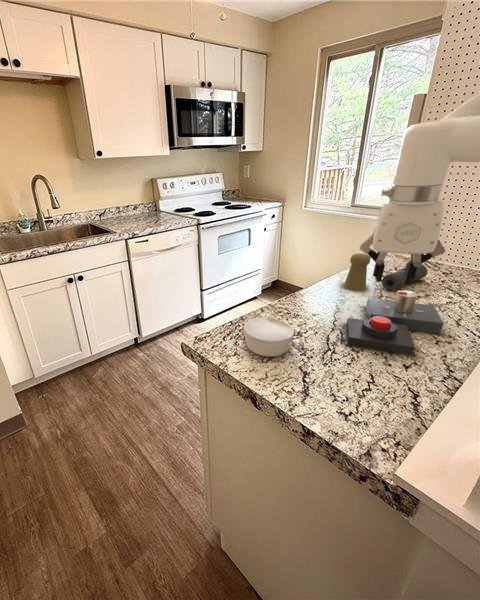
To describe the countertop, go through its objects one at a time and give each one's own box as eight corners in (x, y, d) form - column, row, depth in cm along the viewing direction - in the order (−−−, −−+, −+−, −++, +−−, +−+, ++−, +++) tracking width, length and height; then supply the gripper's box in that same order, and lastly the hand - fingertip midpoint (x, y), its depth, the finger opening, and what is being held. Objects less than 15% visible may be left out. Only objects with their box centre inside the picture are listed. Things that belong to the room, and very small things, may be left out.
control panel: (429, 315, 81) (433, 304, 80) (439, 334, 74) (444, 322, 72) (365, 307, 88) (367, 297, 87) (368, 324, 80) (371, 313, 79)
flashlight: (397, 293, 94) (401, 277, 91) (378, 288, 98) (381, 272, 96) (425, 281, 99) (430, 265, 97) (406, 276, 104) (410, 261, 101)
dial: (410, 307, 80) (415, 290, 78) (414, 314, 77) (419, 296, 75) (391, 305, 82) (396, 288, 80) (394, 311, 79) (398, 294, 77)
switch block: (404, 333, 75) (408, 318, 74) (412, 355, 68) (417, 340, 66) (346, 324, 81) (349, 311, 79) (347, 345, 73) (350, 330, 71)
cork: (342, 282, 104) (348, 251, 99) (363, 283, 102) (370, 251, 97) (345, 290, 99) (351, 257, 94) (367, 291, 97) (375, 257, 92)
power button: (388, 323, 73) (389, 317, 73) (390, 331, 70) (392, 324, 70) (369, 321, 75) (371, 314, 74) (371, 328, 72) (372, 322, 71)
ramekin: (299, 343, 75) (301, 325, 73) (279, 366, 69) (282, 346, 66) (255, 330, 83) (257, 312, 81) (234, 349, 76) (235, 330, 74)
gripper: (363, 198, 61) (346, 283, 69) (481, 195, 53) (447, 292, 61) (361, 192, 67) (345, 271, 75) (466, 189, 59) (437, 278, 67)
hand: (391, 280), depth 68 cm, fingers open, 4 cm apart
